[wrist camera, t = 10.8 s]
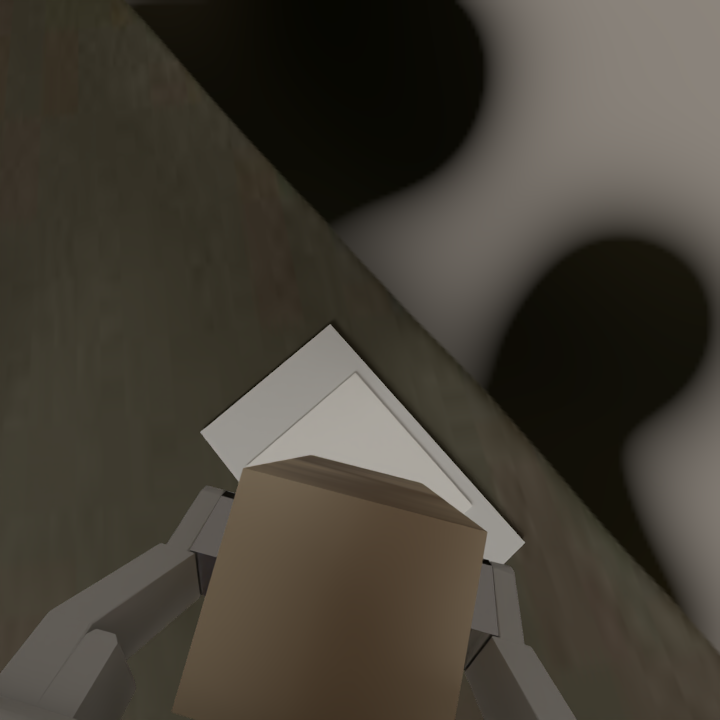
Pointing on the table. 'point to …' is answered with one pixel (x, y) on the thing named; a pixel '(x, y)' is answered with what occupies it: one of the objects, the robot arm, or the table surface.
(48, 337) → the table surface
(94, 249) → the table surface
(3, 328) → the table surface
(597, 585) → the table surface
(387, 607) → the wooden block
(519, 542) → the grey mat
